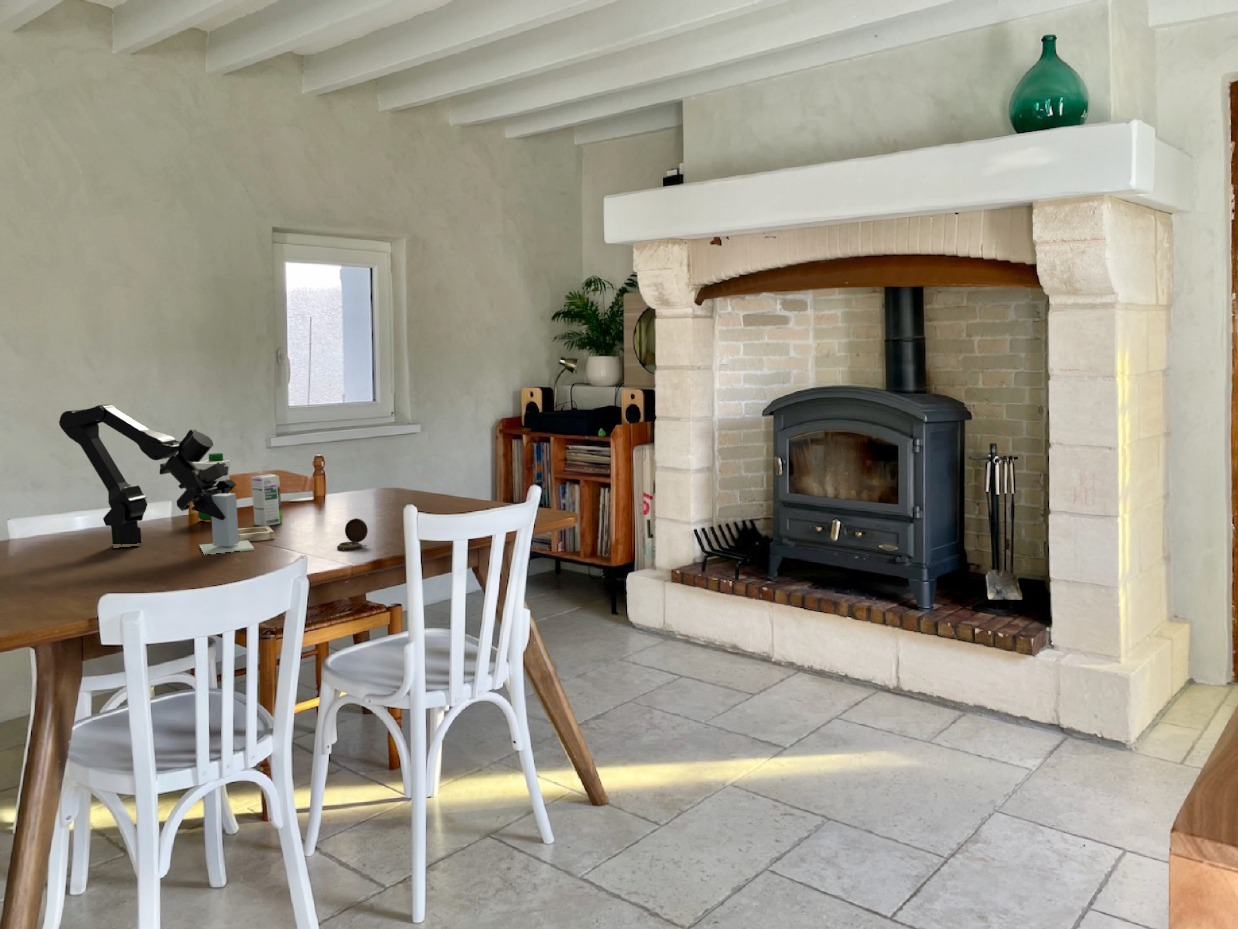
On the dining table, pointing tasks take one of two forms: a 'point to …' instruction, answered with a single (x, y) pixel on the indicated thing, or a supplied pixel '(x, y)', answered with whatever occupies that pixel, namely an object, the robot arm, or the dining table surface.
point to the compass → (354, 535)
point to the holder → (256, 533)
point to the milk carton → (208, 463)
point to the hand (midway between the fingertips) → (229, 517)
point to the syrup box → (266, 500)
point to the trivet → (226, 548)
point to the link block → (225, 520)
